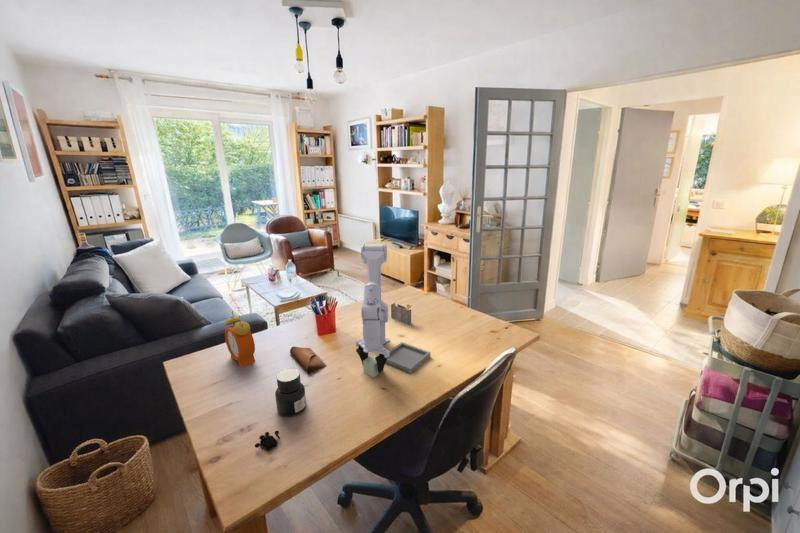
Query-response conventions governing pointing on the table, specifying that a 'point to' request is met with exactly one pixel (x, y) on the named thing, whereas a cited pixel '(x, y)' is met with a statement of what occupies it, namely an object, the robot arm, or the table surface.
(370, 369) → the cube
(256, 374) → the table surface
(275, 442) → the black knobbed ornament
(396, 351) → the tray
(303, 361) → the sunglasses case
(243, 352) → the alarm clock
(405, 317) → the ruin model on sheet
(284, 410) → the ink bottle
